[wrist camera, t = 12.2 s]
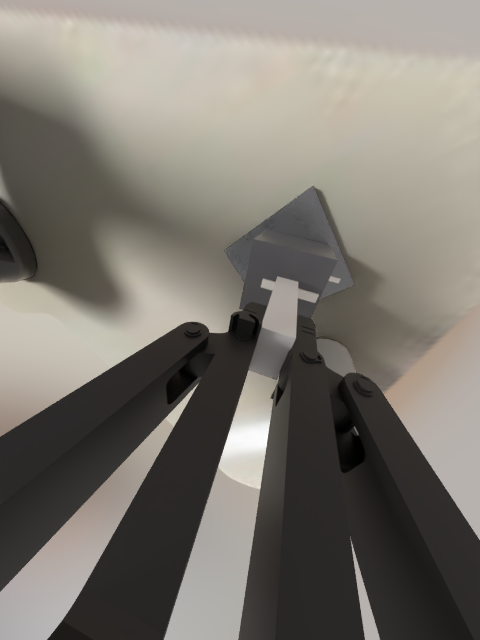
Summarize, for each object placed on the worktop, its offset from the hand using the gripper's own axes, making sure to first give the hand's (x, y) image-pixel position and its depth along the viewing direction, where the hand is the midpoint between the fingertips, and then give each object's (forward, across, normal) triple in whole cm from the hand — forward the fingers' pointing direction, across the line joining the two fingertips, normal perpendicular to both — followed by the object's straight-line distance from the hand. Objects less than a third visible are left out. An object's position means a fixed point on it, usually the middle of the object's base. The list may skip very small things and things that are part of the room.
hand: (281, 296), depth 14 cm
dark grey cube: (+7, 0, 0) cm, 7 cm away
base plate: (+8, 0, 0) cm, 8 cm away
